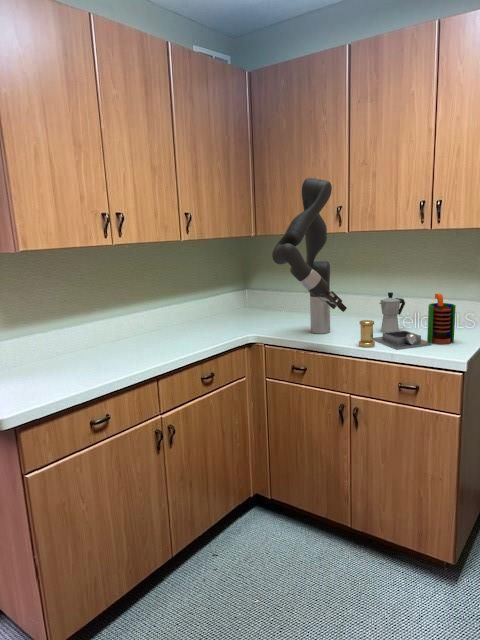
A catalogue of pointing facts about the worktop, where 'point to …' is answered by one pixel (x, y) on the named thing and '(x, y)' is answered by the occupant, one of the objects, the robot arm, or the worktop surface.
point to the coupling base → (402, 340)
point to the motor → (441, 322)
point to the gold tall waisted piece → (366, 334)
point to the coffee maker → (391, 313)
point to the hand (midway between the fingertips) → (340, 308)
